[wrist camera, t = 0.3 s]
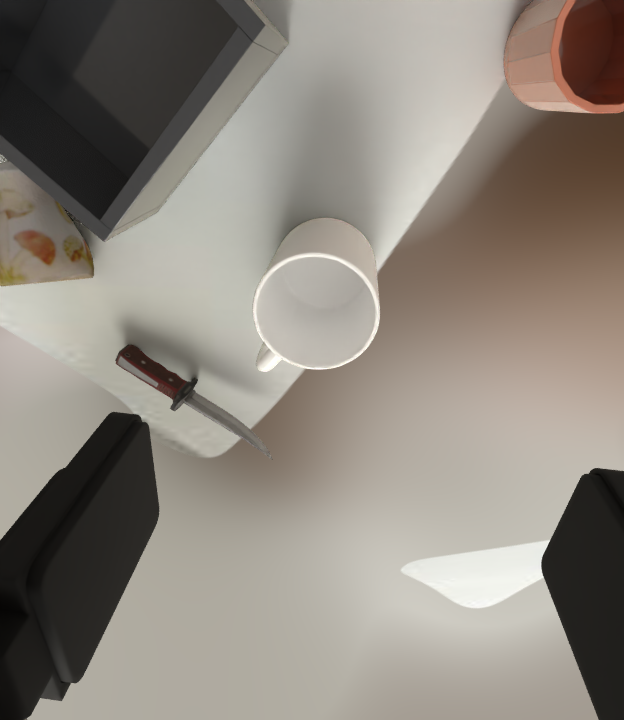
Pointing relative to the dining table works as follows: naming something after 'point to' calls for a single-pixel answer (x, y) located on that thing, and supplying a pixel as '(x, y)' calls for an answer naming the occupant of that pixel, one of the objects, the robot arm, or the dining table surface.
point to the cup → (317, 297)
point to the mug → (37, 235)
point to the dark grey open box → (123, 95)
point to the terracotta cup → (568, 56)
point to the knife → (182, 392)
